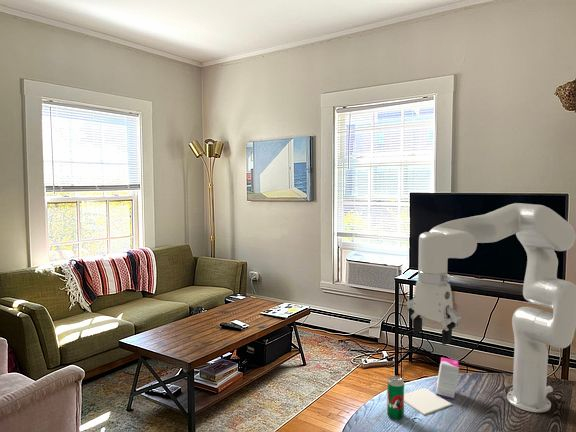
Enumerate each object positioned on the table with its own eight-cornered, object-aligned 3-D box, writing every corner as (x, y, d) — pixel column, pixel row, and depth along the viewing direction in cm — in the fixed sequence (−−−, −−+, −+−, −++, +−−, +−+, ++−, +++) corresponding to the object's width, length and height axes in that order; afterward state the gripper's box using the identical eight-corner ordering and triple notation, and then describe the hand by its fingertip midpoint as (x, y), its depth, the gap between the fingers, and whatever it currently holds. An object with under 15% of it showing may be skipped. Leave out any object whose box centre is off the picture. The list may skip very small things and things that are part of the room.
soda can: (406, 415, 138) (407, 379, 137) (398, 422, 135) (398, 385, 133) (392, 409, 142) (393, 374, 140) (384, 416, 138) (384, 379, 137)
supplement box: (454, 399, 147) (459, 367, 145) (435, 395, 149) (440, 363, 147) (453, 391, 152) (458, 360, 151) (435, 387, 154) (440, 356, 153)
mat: (424, 389, 154) (424, 387, 154) (451, 405, 144) (451, 403, 144) (397, 397, 149) (397, 396, 149) (423, 415, 138) (424, 413, 138)
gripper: (469, 281, 116) (467, 344, 118) (416, 269, 130) (415, 325, 132) (451, 286, 112) (450, 351, 114) (398, 273, 126) (398, 331, 128)
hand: (431, 337), depth 123 cm, fingers open, 9 cm apart
